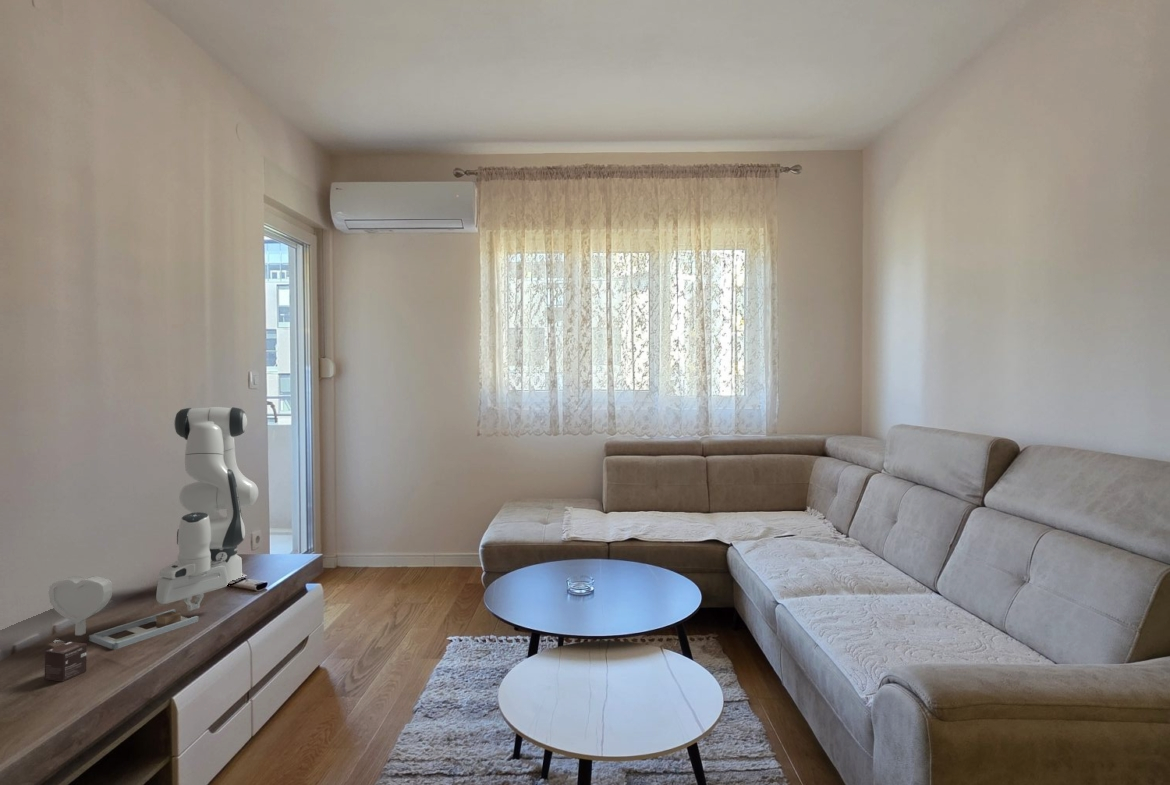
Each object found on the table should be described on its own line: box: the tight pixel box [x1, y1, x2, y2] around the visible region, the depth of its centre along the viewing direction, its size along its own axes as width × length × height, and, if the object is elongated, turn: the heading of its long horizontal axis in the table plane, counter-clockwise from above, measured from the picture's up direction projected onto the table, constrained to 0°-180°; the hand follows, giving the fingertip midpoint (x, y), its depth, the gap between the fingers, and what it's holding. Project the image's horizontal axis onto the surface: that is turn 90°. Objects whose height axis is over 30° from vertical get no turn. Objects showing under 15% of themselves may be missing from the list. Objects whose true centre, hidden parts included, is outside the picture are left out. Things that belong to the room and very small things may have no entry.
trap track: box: [88, 608, 199, 651], centre depth 178 cm, size 23×13×3 cm, turn 154°
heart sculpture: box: [47, 575, 114, 644], centre depth 175 cm, size 16×5×18 cm, turn 93°
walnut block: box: [155, 611, 182, 628], centre depth 182 cm, size 4×4×4 cm
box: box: [44, 641, 87, 682], centre depth 154 cm, size 6×6×7 cm
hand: (193, 609), depth 188 cm, fingers closed
